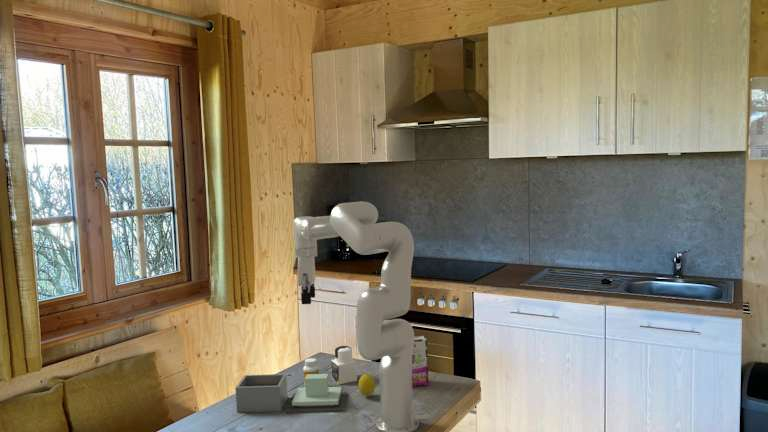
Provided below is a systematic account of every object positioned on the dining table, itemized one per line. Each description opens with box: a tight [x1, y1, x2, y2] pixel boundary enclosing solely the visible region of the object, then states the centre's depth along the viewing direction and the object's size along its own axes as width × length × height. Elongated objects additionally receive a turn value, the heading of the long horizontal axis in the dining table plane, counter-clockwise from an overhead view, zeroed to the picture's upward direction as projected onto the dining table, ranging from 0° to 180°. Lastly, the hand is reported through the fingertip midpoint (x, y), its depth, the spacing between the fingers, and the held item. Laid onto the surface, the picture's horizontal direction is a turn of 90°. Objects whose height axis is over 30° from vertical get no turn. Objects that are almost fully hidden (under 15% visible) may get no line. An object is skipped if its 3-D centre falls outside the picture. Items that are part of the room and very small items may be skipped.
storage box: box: [235, 373, 288, 413], centre depth 188 cm, size 14×11×8 cm
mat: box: [285, 391, 348, 414], centre depth 188 cm, size 18×14×1 cm
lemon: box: [358, 373, 376, 398], centre depth 191 cm, size 6×6×8 cm
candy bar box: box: [412, 335, 429, 388], centre depth 200 cm, size 11×5×16 cm, turn 97°
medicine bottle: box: [331, 345, 358, 386], centre depth 207 cm, size 7×7×12 cm
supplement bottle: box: [302, 357, 320, 388], centre depth 202 cm, size 5×5×10 cm
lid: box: [292, 373, 343, 407], centre depth 187 cm, size 15×12×8 cm
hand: (308, 300), depth 201 cm, fingers open, 9 cm apart
